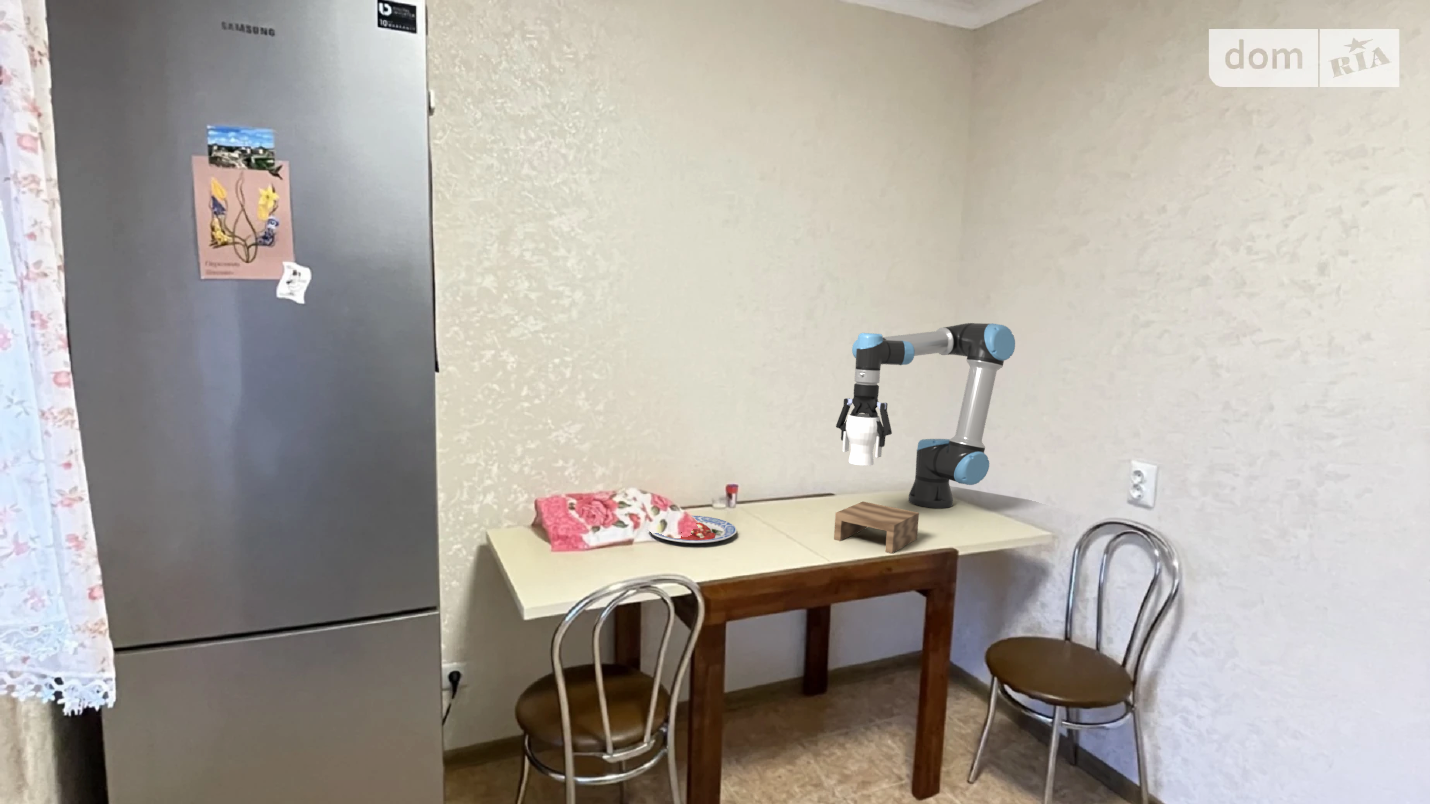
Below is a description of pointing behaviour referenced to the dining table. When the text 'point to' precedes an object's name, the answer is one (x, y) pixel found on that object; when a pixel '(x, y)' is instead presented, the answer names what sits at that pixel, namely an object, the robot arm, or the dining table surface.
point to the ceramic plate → (706, 531)
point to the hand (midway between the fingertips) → (861, 454)
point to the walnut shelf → (878, 523)
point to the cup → (861, 438)
